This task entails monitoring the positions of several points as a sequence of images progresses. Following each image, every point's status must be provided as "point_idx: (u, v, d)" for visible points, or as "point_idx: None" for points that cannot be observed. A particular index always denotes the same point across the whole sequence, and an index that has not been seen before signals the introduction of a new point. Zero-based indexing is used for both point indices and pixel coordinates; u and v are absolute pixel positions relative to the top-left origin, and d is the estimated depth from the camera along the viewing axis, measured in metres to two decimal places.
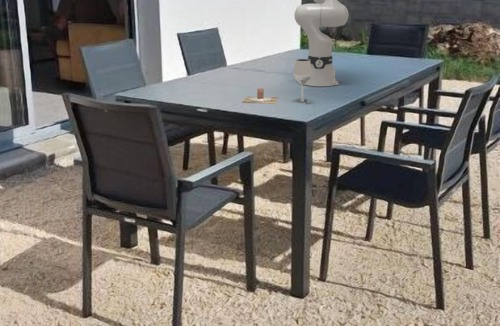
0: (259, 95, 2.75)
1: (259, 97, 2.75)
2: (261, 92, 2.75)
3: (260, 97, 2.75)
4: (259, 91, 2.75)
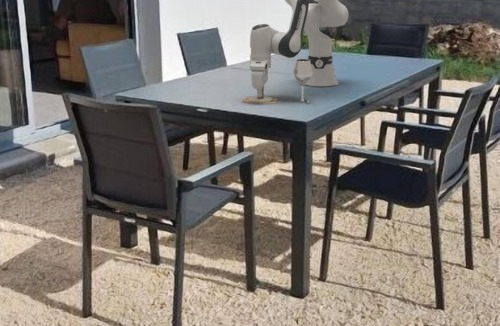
0: None
1: (259, 97, 2.75)
2: None
3: (260, 97, 2.75)
4: None
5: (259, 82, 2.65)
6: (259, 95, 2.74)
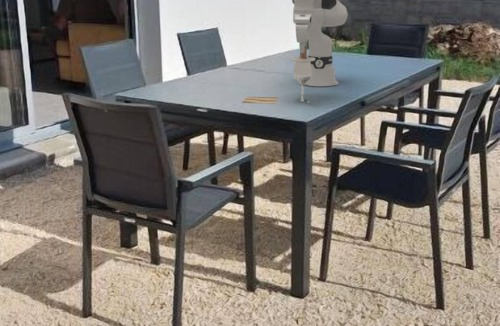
0: (302, 55, 2.68)
1: (302, 57, 2.68)
2: (304, 52, 2.68)
3: (303, 57, 2.68)
4: None
5: (304, 35, 2.57)
6: (302, 51, 2.64)
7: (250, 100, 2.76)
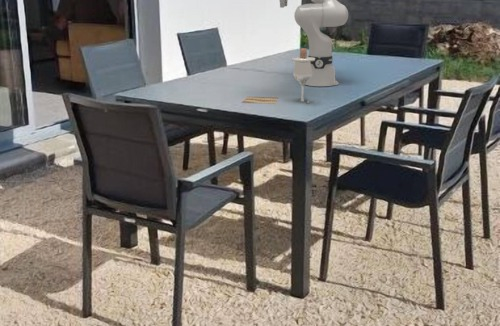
0: (302, 55, 2.68)
1: (302, 57, 2.68)
2: (304, 52, 2.68)
3: (303, 57, 2.68)
4: (302, 50, 2.68)
5: None
6: (282, 6, 2.72)
7: (250, 100, 2.76)
